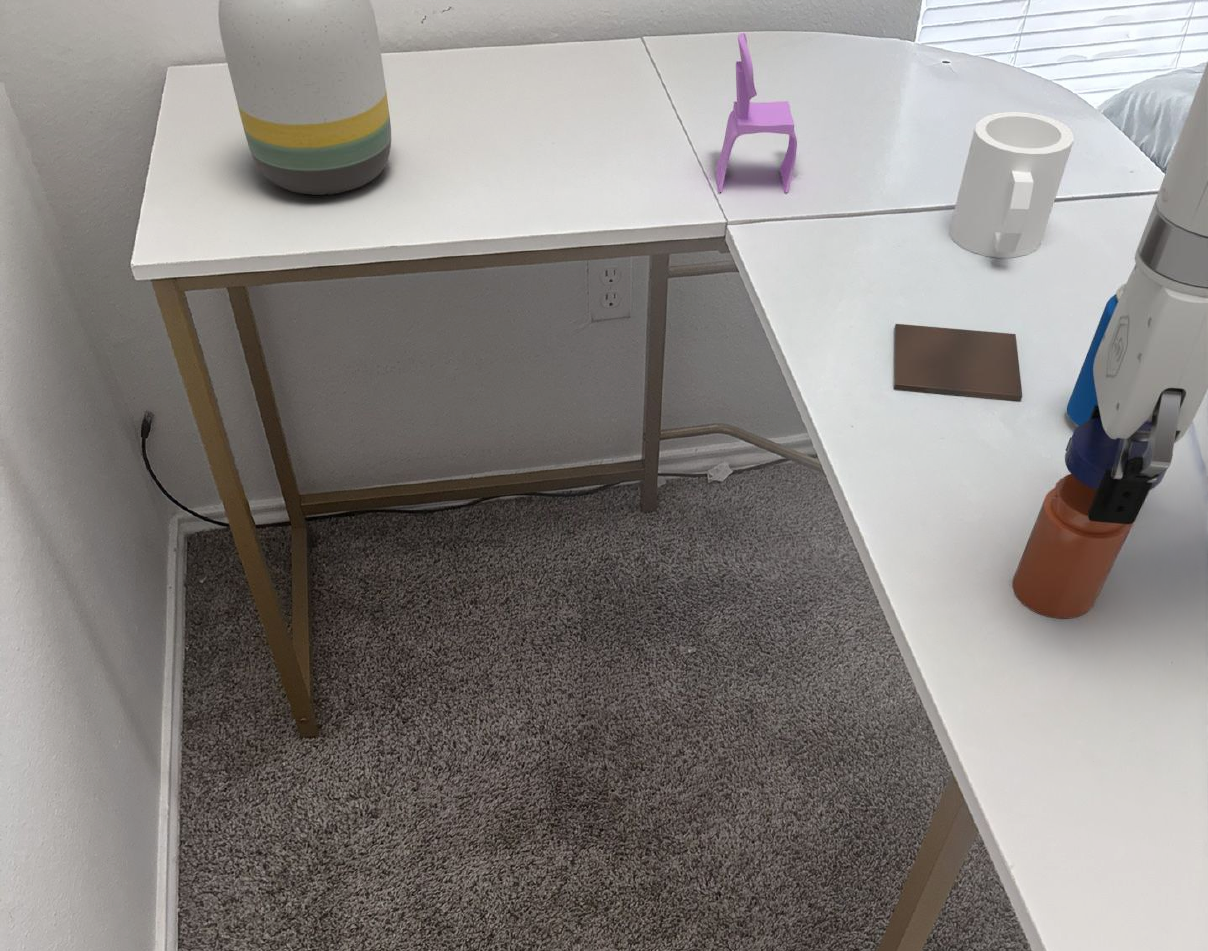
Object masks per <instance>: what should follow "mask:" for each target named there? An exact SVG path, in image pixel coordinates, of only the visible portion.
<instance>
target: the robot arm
mask: <svg viewBox="0 0 1208 951" xmlns="http://www.w3.org/2000/svg"><path fill="white" fill-rule="evenodd" d="M1193 96H1194V97H1193V99H1192V102H1191V105H1190V106H1189V110H1188V113H1187V115H1186V117H1185V120H1184V123H1183V125H1182V129H1181V130H1180V134H1179V136H1178V139H1177V142H1176V143H1175V147H1174V149H1173V152H1172V155H1171V157H1170V160H1169V163H1168V165H1167V168H1166V171H1165V174H1164V177H1163V179H1162V182H1161V184H1160V187H1159V189H1158V192H1157V194H1156V197H1155V201H1154V202H1153V206H1152V209H1151V211H1150V214H1149V217H1148V219H1147V222H1146V224H1145V227H1144V230H1143V232H1142V235H1141V237H1140V240H1139V243H1138V246H1137V248H1136V251H1135V253H1134V262H1135V264H1134V265H1133V268H1132V270H1131V272H1130V274H1129V276H1128V279H1127V281H1126V282H1125V283H1126V285H1125V287H1124V290H1123V292H1122V294H1121V297H1120V299H1119V301H1118V303H1117V306H1116V308H1115V310H1114V313H1113V315H1112V317H1111V320H1110V322H1109V325H1108V327H1107V329H1106V332H1105V334H1104V336H1103V339H1102V341H1101V344H1100V346H1099V348H1098V351H1097V354H1096V356H1095V359H1094V366H1093V374H1094V382H1095V388H1096V394H1097V400H1098V406H1096V405H1095V406H1094V409H1093V411H1092V414H1091V416H1090V419H1094V418H1098V417H1101V421H1102V425H1103V428H1104V430H1105V432H1106V434H1107V435H1108V436H1109V437H1110V438H1111V439H1117V438H1120V440H1119V444H1118V448H1117V452H1116V456H1115V459H1114V463H1113V467H1112V470H1108V469H1106V470H1105V473H1104V475H1103V477H1102V480H1101V482H1100V485H1099V487H1098V489H1097V492H1096V494H1095V496H1094V499H1093V501H1092V504H1091V506H1090V508H1089V511H1088V518H1089V520H1090V521H1096V522H1107V523H1118V524H1132V523H1135V522H1136V520H1137V518H1138V516H1139V514H1140V511H1141V509H1142V507H1143V505H1144V503H1145V502H1146V499H1147V497H1148V494H1149V492H1150V491H1151V490H1150V488H1151V486H1152V484H1153V483H1155V482H1156V480H1157V478H1158V476H1159V475H1160V473H1162V472H1163V471H1165V470H1166V471H1167V470H1168V469H1169V468H1170V466H1171V464H1172V461H1173V460H1172V459H1173V456H1172V454H1173V455H1174V448H1175V444H1176V443H1177V442H1179V441H1181V440H1182V438H1184V436H1185V435H1186V433H1187V432H1188V430H1189V428H1190V427H1191V425H1192V423H1193V421H1194V419H1195V417H1196V415H1197V413H1198V411H1199V409H1200V407H1201V405H1202V403H1203V401H1204V398H1205V396H1206V395H1207V394H1206V393H1207V391H1208V61H1207V62H1206V64H1205V67H1204V70H1203V73H1202V75H1201V78H1200V81H1199V83H1198V85H1197V89H1196V91H1195V94H1194V95H1193ZM1090 419H1089V420H1090ZM1144 422H1149V423H1151V428H1150V431H1138V429H1139V428H1140V427H1141V425H1142V424H1143V423H1144ZM1132 441H1133V442H1145V443H1148V446H1147V449H1146V451H1145V453H1143V455H1142V456H1141V457H1137V456H1135V457H1133V458H1131V459H1129V460H1128V457H1129V453H1130V450H1131V446H1132Z"/></svg>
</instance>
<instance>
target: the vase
mask: <svg viewBox="0 0 1208 951" xmlns="http://www.w3.org/2000/svg"><path fill="white" fill-rule="evenodd" d="M217 13H218V15H217V16H218V17H217V18H218V27H219V32H220V38H221V43H222V48H223V51H224V55H225V60H226V62H227V63H226V64H227V68H228V72H229V76H230V80H231V84H232V88H233V92H234V97H235V100H236V104H237V109H238V112H239V116H240V120H241V124H242V127H243V132H244V136H245V139H246V142H247V146H248V148H249V151H250V154H251V156H252V158H253V160H254V162H255V164H256V165H257V167H258V168H259V170H260V171H261V173H262V174H263V175H264V176H265V177H266V178H267V179H268V181H270V182H272V183H273V184H274V185H276V186H278V187H280V188H282V189H283V190H287V191H289V192H293V193H295V194H296V193H297V194H302V195H311V194H312V196H313V195H314V196H324V195H325V194H328V195H336V194H341V192H342V193H345V191H346V192H349V190H350V191H353V190H355V189H358V188H360V187H363V186H365V185H367V184H369V183H370V182H372V181H373V180H374V179H376V178H377V177H378V176H379V175H380V174H381V172H383V170H384V169H385V167H386V165H387V163H388V161H389V158H390V152H391V146H392V124H391V116H390V108H389V101H388V100H389V99H388V92H387V87H386V86H387V85H386V79H385V71H384V65H383V64H384V63H383V59H382V58H383V56H382V51H381V50H382V49H381V44H380V37H379V30H378V24H377V19H376V14H375V11H374V7H373V4H372V2H371V0H218V12H217ZM335 193H336V194H335Z"/></svg>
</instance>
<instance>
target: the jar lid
mask: <svg viewBox="0 0 1208 951" xmlns="http://www.w3.org/2000/svg"><path fill="white" fill-rule="evenodd" d="M1150 428H1151V426H1150V425H1147V424H1145V423H1143V424H1142V425H1141V427H1140V428H1139V429H1138V431H1150ZM1119 440H1120V438H1117V439H1111V438H1110V437H1109V436H1108V435H1107V434H1106V432H1105V430H1104V428H1103V425H1102V421H1101V417H1098V418H1094V419H1090V420H1088V421H1085V422H1084V423H1082V424H1080V425H1079V426H1078V427H1076V428H1075V429H1074V430H1073V432H1072V435H1071V436H1070V437H1069V439H1068V442H1067V445H1066V448H1065V454H1064V463H1065V466H1066V469H1067V470H1068V472H1069V474H1072V475H1073V476H1074V477H1075V478H1076V479H1077V480H1079V481H1080V482H1081V483H1083V484H1085V485H1087V486H1088V487H1091V488H1093V489H1095V490H1097V489H1098V487H1099V485H1100V482H1101V480H1102V477H1103V475H1104V473H1105V470H1106V469H1108V470H1112V467H1113V463H1114V459H1115V456H1116V452H1117V448H1118V444H1119ZM1147 446H1148V443H1145V442H1133V441H1132V446H1131V450H1130V453H1129V457H1128V460H1129V459H1131V458H1133V457H1135V456H1137V457H1141V456H1142V455H1143V453H1145V451H1146V449H1147ZM1173 455H1174V453H1173V454H1172V457H1173ZM1166 473H1167V470H1165V471H1163V472H1162V473H1160V475H1159V476H1158V478H1157V480H1156V482H1155V483H1153V484H1152V486H1151V488H1150V490H1149V491H1152V490H1153V489H1155V488H1156V487H1157V486H1159V485H1160V483H1162V481H1163V479H1164V478H1165V474H1166Z"/></svg>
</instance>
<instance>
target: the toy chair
mask: <svg viewBox="0 0 1208 951" xmlns="http://www.w3.org/2000/svg"><path fill="white" fill-rule="evenodd" d="M747 38H748V37H747V35H746V33H745V32H742V33H739V34H738V35H737V41H738V47H739V54H740V61H739V60H738V61H735V85H736V86H735V87H736V101H733V107H732V108H733V109H732V110H731V112H729V115H728V119H727V123H726V128H725V134H724V138H723V142H722V143H723V144H722V146H721V151H720V154H719V156H718V160H717V162H716V164H715V168H716V175H715V179H716V178H717V181H716V186H717V185H718V188H717V193H718V192H719V193H718V194H721V193H722V190H723V186H724V182H725V177H726V173H727V168H728V165H729V161H730V156H731V153H732V150H733V147H734V144H735V142H736V140H737V139H738V138H740V137H741V136H744V135H752V134H762V133H769V134H770V133H771V134H778V135H779V134H781V135H788V136H789V137H788V146H787V149H786V152H785V156H784V157H783V160H782V163H781V164H780V167H779V172H780V171H781V174H780V177H781V176H782V178H781V183H782V187H783V191H784V193H785V194H788V193H789V190H790V186H791V182H792V177H793V173H794V169H795V163H796V159H797V158H796V157H797V151H798V150H797V149H798V140H797V139H798V138H797V135H796V131H795V122H794V119H793V115H792V111H791V106H790V103H789V101H782V100H781V101H768V102H753V101H751V100H752V99H753V98H754V97H756V96H758V93H757V89H756V87H755V81H754V80H755V79H754V78H755V77H754V68H753V61H752V56H751V54H750V49H749V46H748V39H747ZM715 168H714V169H715ZM720 192H721V193H720Z"/></svg>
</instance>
